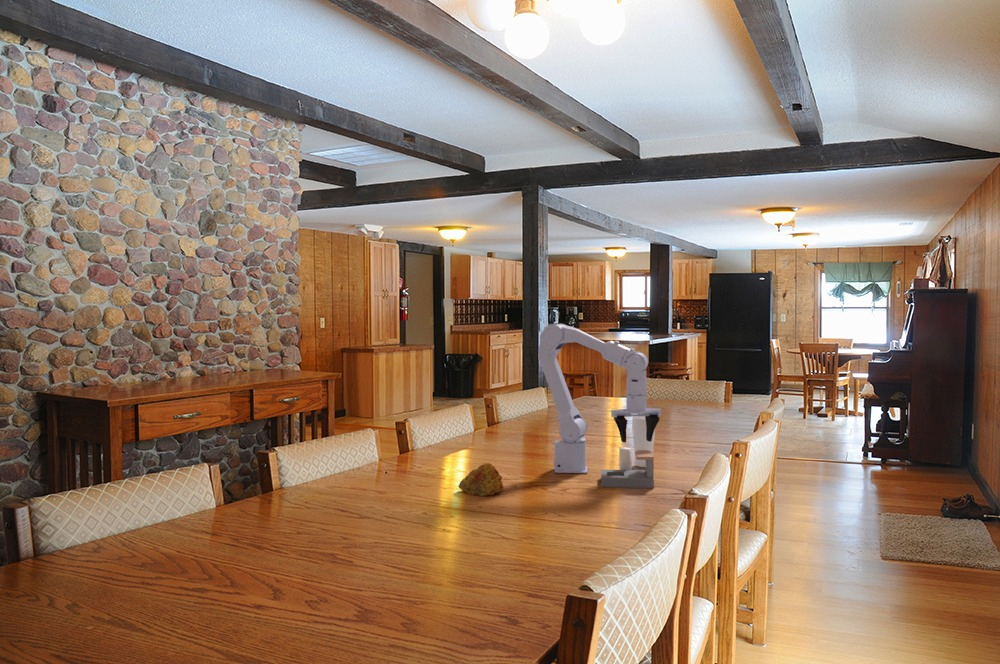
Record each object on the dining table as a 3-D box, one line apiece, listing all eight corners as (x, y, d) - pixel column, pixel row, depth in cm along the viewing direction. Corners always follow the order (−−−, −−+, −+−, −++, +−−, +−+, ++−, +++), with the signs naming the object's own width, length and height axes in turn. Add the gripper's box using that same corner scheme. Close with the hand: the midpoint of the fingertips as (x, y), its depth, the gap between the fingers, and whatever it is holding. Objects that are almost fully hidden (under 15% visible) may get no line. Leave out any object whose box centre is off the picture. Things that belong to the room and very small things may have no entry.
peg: (619, 477, 207) (619, 449, 206) (619, 474, 210) (619, 447, 210) (631, 477, 206) (631, 449, 206) (631, 475, 210) (631, 447, 209)
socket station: (601, 486, 196) (600, 456, 196) (601, 478, 206) (600, 449, 206) (653, 488, 194) (653, 457, 194) (651, 479, 204) (651, 449, 204)
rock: (470, 512, 188) (450, 481, 193) (486, 509, 196) (467, 479, 200) (499, 485, 185) (478, 454, 189) (514, 483, 192) (494, 453, 197)
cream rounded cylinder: (653, 463, 224) (653, 415, 224) (656, 468, 218) (656, 418, 217) (631, 463, 225) (631, 415, 224) (633, 468, 218) (633, 418, 218)
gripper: (617, 396, 203) (616, 444, 204) (665, 395, 206) (665, 443, 206) (608, 393, 210) (608, 440, 211) (656, 392, 213) (656, 438, 213)
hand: (636, 441), depth 209 cm, fingers open, 7 cm apart
